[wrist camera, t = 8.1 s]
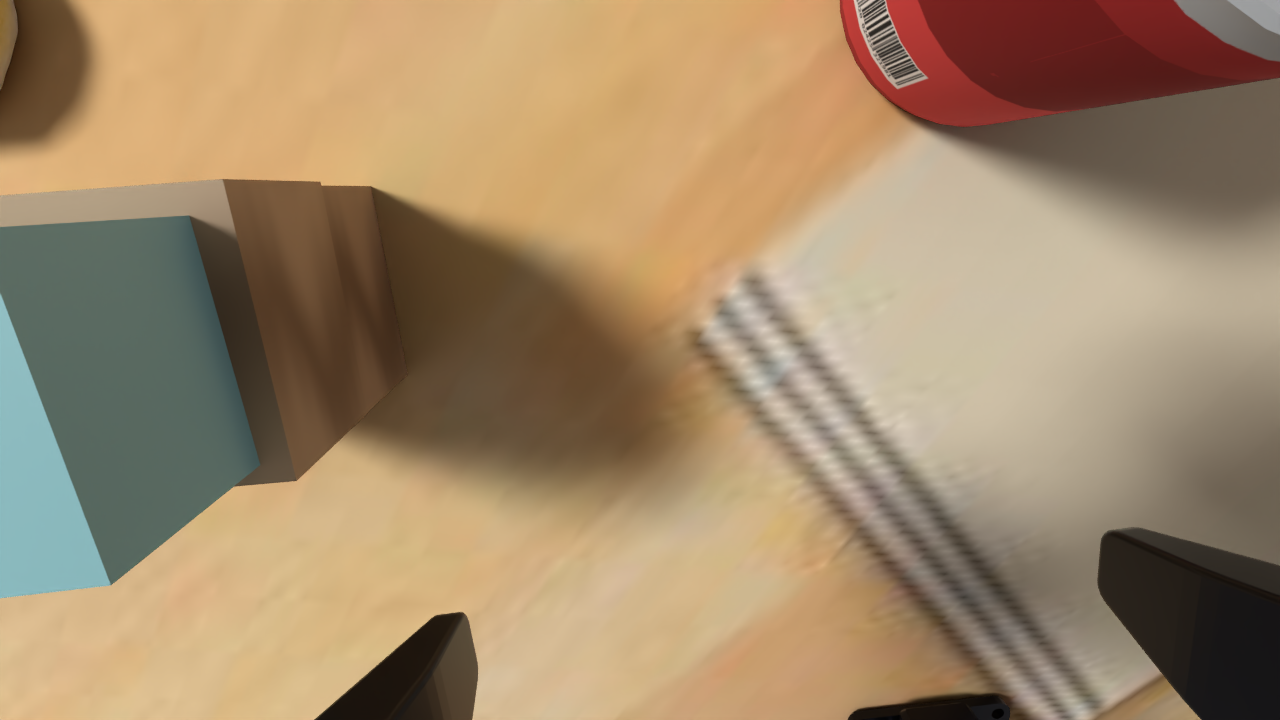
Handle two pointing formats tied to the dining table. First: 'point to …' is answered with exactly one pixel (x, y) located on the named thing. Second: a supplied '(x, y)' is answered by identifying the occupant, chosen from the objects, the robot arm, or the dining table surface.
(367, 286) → the tower base
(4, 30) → the bread roll
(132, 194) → the tower top
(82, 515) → the teal block
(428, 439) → the dining table surface
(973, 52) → the canned food
